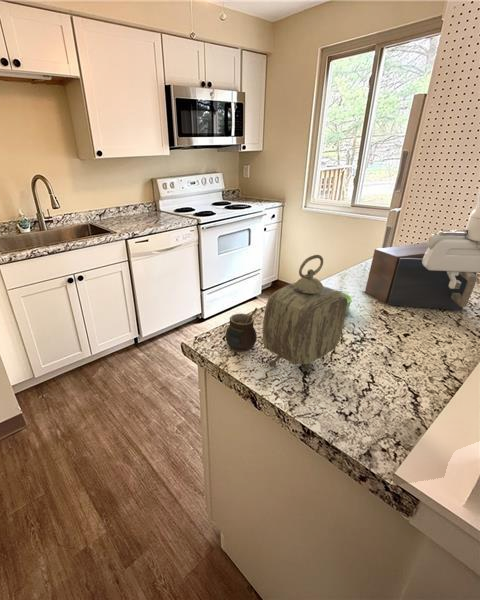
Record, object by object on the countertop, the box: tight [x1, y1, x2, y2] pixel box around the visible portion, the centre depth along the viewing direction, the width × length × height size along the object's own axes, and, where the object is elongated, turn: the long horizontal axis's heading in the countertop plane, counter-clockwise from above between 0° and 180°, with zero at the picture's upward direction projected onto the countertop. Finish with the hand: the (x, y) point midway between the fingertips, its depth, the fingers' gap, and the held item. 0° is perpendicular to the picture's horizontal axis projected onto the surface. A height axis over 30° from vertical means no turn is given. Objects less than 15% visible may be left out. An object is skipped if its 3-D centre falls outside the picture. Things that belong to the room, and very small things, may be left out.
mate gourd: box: [224, 307, 259, 353], centre depth 74 cm, size 7×8×10 cm
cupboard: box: [364, 242, 428, 304], centre depth 90 cm, size 8×16×14 cm, turn 96°
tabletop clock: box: [262, 254, 347, 370], centre depth 63 cm, size 14×9×25 cm, turn 120°
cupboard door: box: [386, 258, 479, 312], centre depth 80 cm, size 6×16×14 cm, turn 67°
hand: (470, 289), depth 72 cm, fingers open, 5 cm apart
